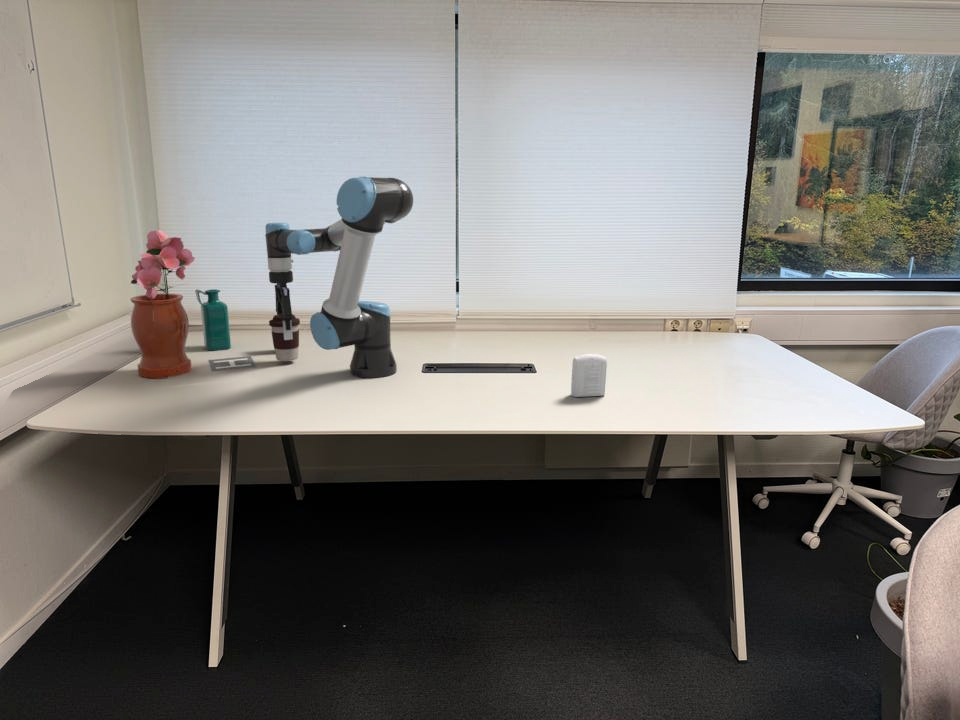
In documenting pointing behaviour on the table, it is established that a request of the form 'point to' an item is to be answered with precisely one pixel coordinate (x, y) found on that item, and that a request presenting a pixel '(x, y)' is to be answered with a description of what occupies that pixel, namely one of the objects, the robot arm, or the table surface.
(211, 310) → the pitcher
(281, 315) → the coffee cup
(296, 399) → the table surface
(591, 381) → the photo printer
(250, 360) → the letter mat
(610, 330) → the table surface
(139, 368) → the potted flower
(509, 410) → the table surface
